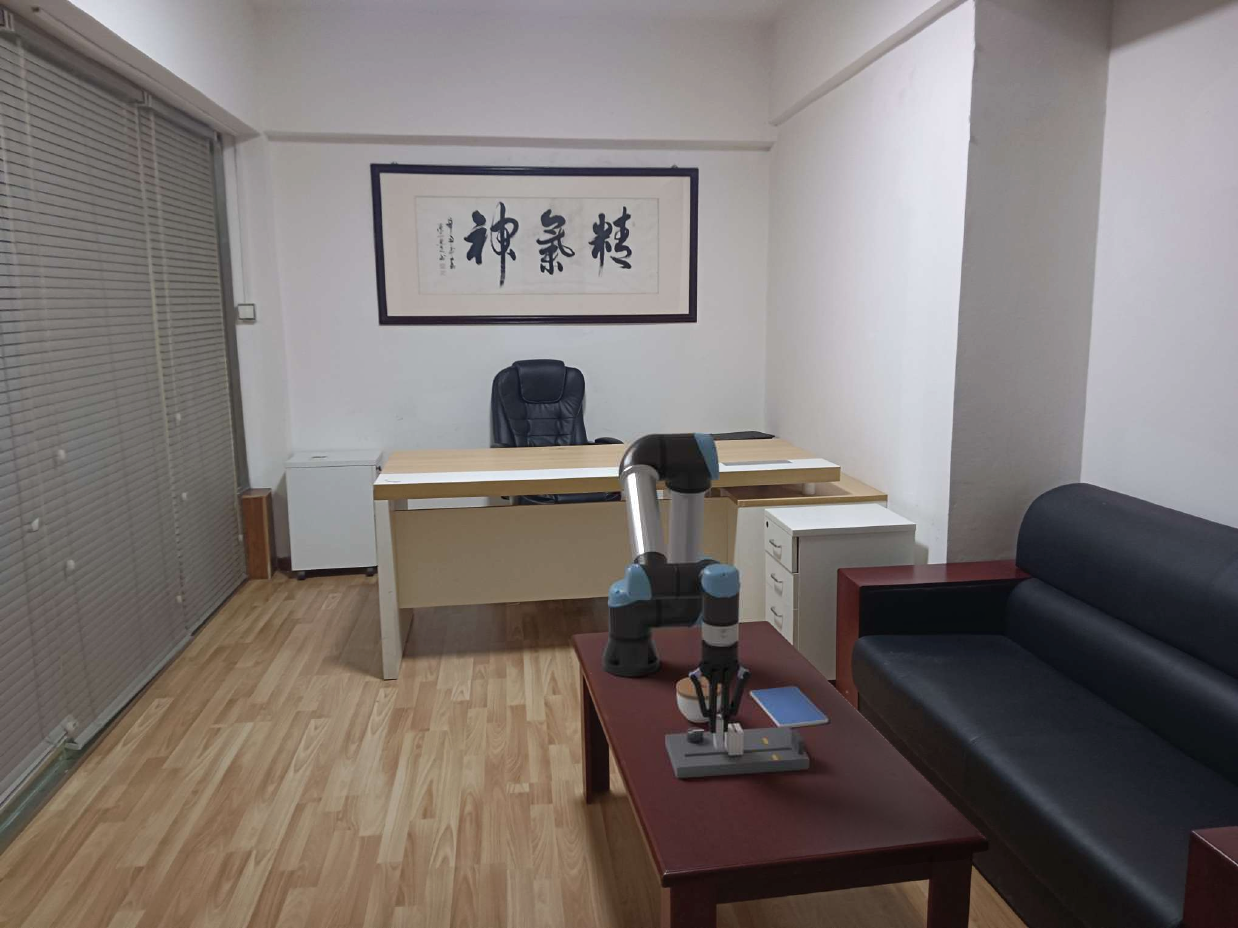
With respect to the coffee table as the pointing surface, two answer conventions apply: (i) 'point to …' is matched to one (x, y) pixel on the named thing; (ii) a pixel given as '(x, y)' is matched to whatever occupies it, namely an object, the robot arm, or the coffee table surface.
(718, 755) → the console
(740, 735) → the fader tab
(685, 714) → the lidded jar
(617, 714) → the coffee table surface
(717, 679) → the robot arm
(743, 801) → the coffee table surface
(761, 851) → the coffee table surface
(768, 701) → the tablet computer
